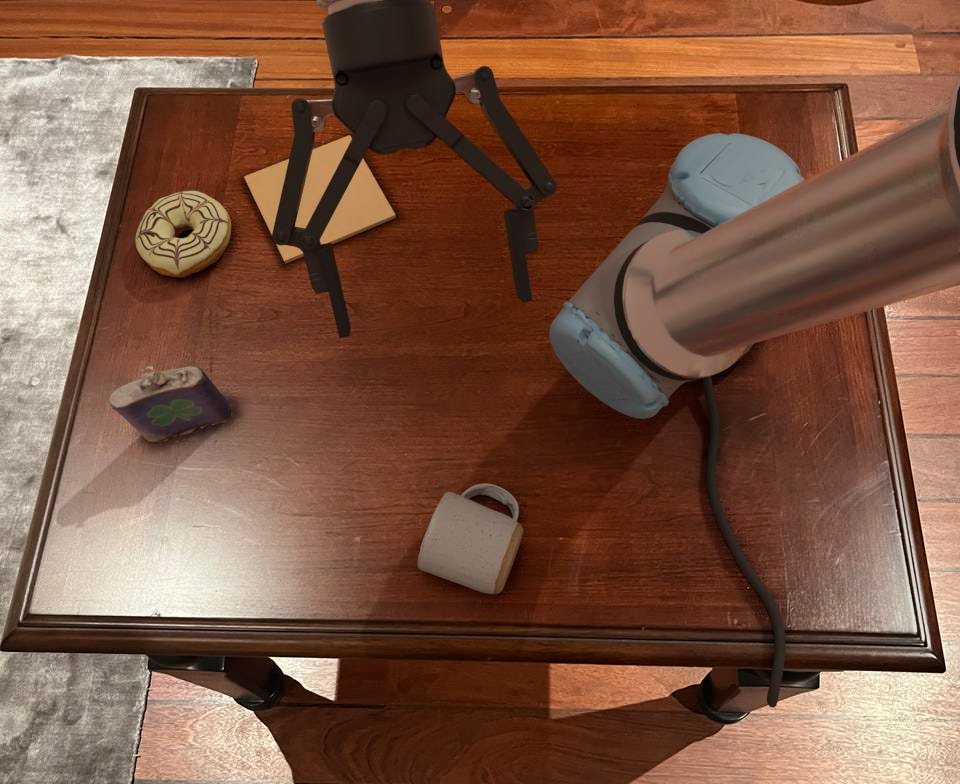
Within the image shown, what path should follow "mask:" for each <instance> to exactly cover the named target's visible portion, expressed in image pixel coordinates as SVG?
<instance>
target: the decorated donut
mask: <svg viewBox="0 0 960 784" xmlns="http://www.w3.org/2000/svg"><path fill="white" fill-rule="evenodd" d="M230 217H231V216H230V215H229V213H228V211H227V210H226V208H224V206H223V205H222V204H221V203H220V202H219V201H217V200H216V199H215V198H212V197H211V196H209V195H208V194H206V193H204V192H202V191H198V190H187V191H185V190H182V191H179V192H175V193H172V194H169V195H167V196H166V195H165V196H164V197H160V198H158V199H157V200H156V201H155V202H154V203H153V204H152V206H151V207H149V208H148V209H147V210H146V211H145V212H144V215H143V217H142V219H141V221H140V222H139V225H138V226H137V230H136V233H135V247H136V250H137V252H138V254H139V255H140V257H141V258H142V259H143V261H144V262H145V263H146V264H147V265H148V266H149V267H150V268H151V269H152V271H155V272H157V273H158V274H160V275H161V276H167V277H172V278H186V277H188V276H191V275H193V274H198V273H199V272H201V271H202V270H204V269H206V268H207V267H209V266H211V265H212V264H214V263H216V262H217V261H218V260H219V259H220V258H221V256H223V255H224V253H225V251H226V250H227V247H228V245H229V244H230V240H231V236H232V234H231V233H232V222H231V218H230ZM185 231H192V232H191V233H190V234H189V235H188V236H186V237H181V238H180V237H179V236H180V235H181V234H182V233H185Z"/></svg>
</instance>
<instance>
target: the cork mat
mask: <svg viewBox="0 0 960 784" xmlns="http://www.w3.org/2000/svg"><path fill="white" fill-rule="evenodd" d="M352 138H353V137H352V136H351V134H349V135H346V136H344V137H341V138H338V139H337V140H333V141H331V142H329V143H326V144H323V145H320V146H317V147H315V148H313V150H312V155H311V159H310V163H309V168H308V172H307V176H306V181H305V185H304V189H303V193H302V198H301V202H300V206H299V211H298V215H297V219H296V223H295V227H300V228H306V226H307V224H308V223H309V221H310V219H311V217H312V215H313V213H314V211H315V209H316V207H317V205H318V203H319V202H320V200H321V198H322V196H323V194H324V192H325V190H326V188H327V186H328V184H329V182H330V181H331V179H332V177H333V175H334V173H335V171H336V169H337V167H338V165H339V163H340V161H341V160H342V158H343V156H344V154H345V152H346V150H347V148H348V146H349V144H350V142H351V140H352ZM288 162H289V158H288V159H285V160H282V161H280V162H277V163H275V164H272V165H269V166H267V167H265V168H262V169H259V170H256V171H254V172H251V173H250V174H247V175H244V176H243V179H244V181H245V182H246V185H247V187H248V188H249V189H248V190H249V191H250V193H251V195H252V198H253V199H254V201H255V203H256V205H257V207H258V210H259V212H260V213H261V216H262V218H263V220H264V222H265V224H266V226H267V228H268V231H269V233H270V235H271V236H272V233H273V228H274V224H275V220H276V215H277V211H278V206H279V202H280V197H281V193H282V189H283V184H284V180H285V175H286V171H287V166H288ZM396 218H397V216H396V213H395V211H394V209H393V208H392V205H390V203H389V201H388V200H387V197H386V195H385V194H384V192H383V191H382V188H381V187H380V185H379V183H378V182H377V180H376V178H375V176H374V174H373V173H372V171H371V169H370V168H369V166H368V164H367V162H366V161H365V159H364V158H363V159H362V161H361V163H360V165H359V167H358V168H357V170H356V172H355V174H354V176H353V178H352V180H351V182H350V184H349V185H348V187H347V189H346V191H345V193H344V195H343V197H342V199H341V201H340V202H339V204H338V206H337V208H336V210H335V212H334V214H333V216H332V217H331V219H330V221H329V223H328V225H327V227H326V229H325V231H324V233H323V234H322V236H321V238H320V242H321V244H325V243H332V245H334V244H337V243H339V242H342V241H344V240H346V239H349V238H351V237H354V236H356V235H358V234H361V233H363V232H365V231H368V230H371V229H373V228H375V227H378V226H380V225H382V224H385V223H387V222H389V221H392V220H394V219H396ZM275 245H276V248H277V250H278V252H279V254H280V256H281V259H282V260H283V262H284V264H286V265H287V264H289V263H291V262H294V261H296V260H299V259H301V258H304V254H303V252H302V251H301V250H300V249H299V248H297V247H293V246H287V245H277V244H276V243H275Z"/></svg>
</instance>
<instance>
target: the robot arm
mask: <svg viewBox="0 0 960 784" xmlns="http://www.w3.org/2000/svg"><path fill="white" fill-rule="evenodd" d="M316 4H317V6H319V8H321V9H323V10H327V11H328V15H326V16H325V17H324V18H323V21H322V23H321V26H322V27H321V28H322V31H323V32H322V33H323V37H324V40H325V46H326V50H327V56H328V60H329V64H330V69H331V74H332V79H333V84H334V90H333V91H334V92H333V96H332V98H327V99H306V98H302V97H297V98H295V99H294V100H293V101H292V103H291V106H290V107H291V116H292V125H293V132H294V136H293V140H292V144H291V149H290V154H289V158H288V159H289V162H288V166H287V171H286V175H285V180H284V184H283V189H282V193H281V197H280V202H279V206H278V211H277V215H276V220H275V224H274V228H273V233H272V235H271V239H272V241H273V242H274V244H275V245H276V244H277V245H287V246H293V247H297V248H299V249H300V250H301V251H302V252H303V254H304V256H303V258H304V261H305V265H306V269H307V273H308V278H309V281H310V286H311V289H312V290H313V292H314V293H315V295H318V294H324V293H328V296H329V299H330V305H331V308H332V312H333V316H334V321H335V324H336V329H337V334H338V338H339V339H344V338H348V337H351V329H352V326H351V322H350V318H349V312H348V308H347V304H346V300H345V295H344V291H343V287H342V282H341V278H340V274H339V270H338V265H337V260H336V256H335V251H334V248H333V244H332V243H325V244H321V242H320V238H321V236H322V234H323V233H324V231H325V229H326V227H327V225H328V223H329V221H330V219H331V217H332V216H333V214H334V212H335V210H336V208H337V206H338V204H339V202H340V201H341V199H342V197H343V195H344V193H345V191H346V189H347V187H348V185H349V184H350V182H351V180H352V178H353V176H354V174H355V172H356V170H357V168H358V167H359V165H360V163H361V161H362V159H364V157H365V155H366V153H367V151H368V150H369V151H370V152H372V153H374V154H378V155H382V156H386V155H391V154H394V153H396V152H399V151H400V150H403V149H409V150H419V149H425V148H427V147H428V146H430V145H431V144H433V143H434V142H435V141H436V139H438V140H439V141H440V142H442V143H443V144H444V145H445V146H446V147H448V149H450V150H451V151H452V152H453V153H455V155H457V156H458V157H459V158H460V159H461V160H463V162H465V164H466V165H468V166H469V167H470V168H471V169H473V170H474V171H475V172H476V173H478V175H480V176H481V177H482V178H483V179H484V180H485V181H487V183H489V184H490V186H492V187H493V188H495V190H497V191H498V192H499V193H500V194H502V196H504V197H505V198H506V199H507V200H508V201H510V203H512V205H513V208H510V209H503V216H504V223H505V224H504V225H505V231H506V237H507V244H508V250H509V257H510V263H511V269H512V276H513V282H514V289H515V296H516V297H517V298H518V299H519V301H520V302H521V303H522V304H524V303H530V302H533V295H532V289H531V281H530V275H529V274H530V273H529V268H528V262H527V255H529V254H534V253H537V252H538V249H539V237H538V230H537V223H536V217H535V216H536V215H535V208H536V206H537V204H538V203H539V202H541V201H542V200H544V199H546V198H547V197H551V196H553V195H554V194H555V193H556V192H557V189H558V185H557V182H556V180H555V179H554V178H553V176H552V175H551V173H550V172H549V170H548V169H547V167H546V166H545V164H544V162H543V161H542V159H541V158H540V157H539V155H538V153H537V152H536V151H535V149H534V147H533V146H532V144H531V143H530V142H529V140H528V138H527V137H526V136H525V134H524V132H523V131H522V129H520V126H519V125H518V124H517V122H516V121H515V119H514V118H513V115H512V114H511V113H510V111H509V110H508V109H507V107H506V105H505V104H504V103H503V100H502V99H501V98H500V94H499V89H498V87H497V82H496V79H495V76H494V71H493V70H492V68H490V66H487V65H482V66H480V67H478V68H476V69H475V70H473V71H472V72H471V71H470V72H468V73H464V74H461V75H457V76H455V77H452V76H451V75H450V73H449V72H448V70H447V67H446V66H445V61H444V55H443V50H442V49H443V48H442V43H441V37H440V32H439V26H438V19H437V14H436V8H435V4H434V3H432V2H431V0H316ZM457 94H462V95H463V96H464V97H465V99H466V100H467V102H468V103H469V104H471V105H479V108H480V110H481V112H482V114H483V115H484V117H485V118H486V119H487V121H488V123H489V124H490V125H491V127H492V128H493V130H494V131H495V133H496V134H497V136H498V137H499V139H500V140H501V141H502V143H503V144H504V146H505V148H506V149H507V150H508V152H509V154H510V155H511V156H512V158H513V159H514V161H515V162H516V164H517V165H518V167H519V168H520V170H521V171H522V172H523V174H524V175H525V177H526V179H527V180H528V181H529V184H527V185H525V186H522V185H521V184H519V182H517V181H516V180H515V179H514V178H513V177H512V176H510V174H508V173H507V172H506V171H505V169H503V168H502V167H500V166H499V165H498V164H497V162H495V161H494V160H493V159H491V158H490V157H489V156H488V155H487V154H486V153H484V152H483V150H481V149H480V148H479V147H478V146H477V145H476V144H474V143H473V142H472V141H471V140H470V139H469V138H468V137H467V136H466V135H464V134H463V132H462V131H460V130H459V129H458V128H457V127H456V126H455V125H453V123H451V122H450V120H448V119H447V115H448V113H449V111H450V109H451V106H452V104H453V103H454V100H455V97H456V95H457ZM331 116H335V118H336V119H337V120H338V121H339V122H340V124H342V125H343V126H344V127H345V128H347V130H348V131H349V132H351V134H353V136H352V137H351V138H352V140H351V142H350V144H349V146H348V148H347V150H346V152H345V154H344V156H343V158H342V160H341V161H340V163H339V165H338V167H337V169H336V171H335V173H334V175H333V177H332V179H331V181H330V182H329V184H328V186H327V188H326V190H325V192H324V194H323V196H322V198H321V200H320V202H319V203H318V205H317V207H316V209H315V211H314V213H313V215H312V217H311V219H310V221H309V223H308V224H307V226H306V228H300V227H295V223H296V219H297V215H298V211H299V206H300V202H301V198H302V193H303V189H304V185H305V181H306V176H307V172H308V168H309V163H310V159H311V155H312V150H313V149H314V145H315V140H316V139H315V138H316V133H320V132H322V131H323V130H324V129H325V127H326V124H327V123H326V122H327V119H328V118H329V117H331ZM277 245H276V246H277ZM957 286H960V74H958V77H957V79H956V81H955V83H954V86H953V90H952V93H951V95H950V100H949V103H948V104H946V105H944V106H942V107H939V108H937V109H936V110H934V111H932V112H931V113H929V114H927V115H925V116H923V117H921V118H919V119H917V120H915V121H913V122H911V123H910V124H908V125H906V126H904V127H902V128H900V129H897V131H895V132H893V133H891V134H889V135H887V136H885V137H883V138H881V139H879V140H876V142H874V143H871V144H870V145H868V146H866V147H865V148H862V149H860V150H858V151H856V152H855V153H853V154H851V155H849V156H848V157H845V158H843V159H842V160H840V161H838V162H836V163H834V164H832V165H830V166H828V167H826V168H824V169H823V170H820V171H819V172H817V173H815V174H813V175H811V176H810V177H807V178H804V177H803V176H802V172H801V169H800V168H799V166H798V164H797V163H796V162H795V161H794V160H793V159H792V158H791V156H789V155H788V154H787V153H785V151H783V150H782V149H781V148H779V147H777V146H776V145H774V144H772V143H770V142H768V141H766V140H764V139H762V138H758V137H756V136H752V135H749V134H744V133H737V132H736V133H735V132H733V133H730V134H725V133H721V132H719V133H718V132H717V133H711V134H708V135H703V136H700V137H698V138H696V139H694V140H692V141H691V142H689V143H688V144H686V145H685V146H684V147H683V148H681V150H680V151H679V152H678V154H677V155H676V157H675V159H674V162H673V163H672V164H671V166H670V169H668V174H667V184H666V187H665V188H664V190H663V192H662V193H661V195H660V196H659V198H658V199H657V200H656V201H655V202H654V204H653V205H652V206H651V207H650V208H649V209H648V211H647V212H645V214H644V215H643V217H642V218H641V219H640V220H639V221H638V223H636V225H635V226H634V227H633V228H632V229H631V230H630V231H629V232H628V233H627V234H626V235H625V236H624V238H622V240H621V241H620V242H619V243H618V244H617V246H616V247H615V248H614V249H612V251H611V252H610V254H608V255H607V257H606V258H605V259H604V260H603V261H602V262H601V263H600V265H599V266H598V267H596V269H595V270H594V272H593V273H592V274H591V275H590V276H588V278H587V279H586V280H585V282H584V283H583V284H582V285H581V286H580V287H579V288H578V290H577V291H575V293H574V294H573V295H572V296H571V297H570V298H569V300H567V301H564V302H563V303H562V308H561V309H560V311H559V312H558V313H557V315H556V316H555V318H554V319H553V320H552V321H551V324H550V327H549V331H548V332H549V333H548V335H549V341H550V344H551V347H552V349H553V351H554V353H555V355H556V357H557V359H558V361H560V363H561V364H562V365H563V367H564V368H565V369H566V371H567V372H568V373H569V374H570V375H571V376H572V378H574V379H575V380H576V381H577V382H578V383H579V384H580V385H581V386H582V387H583V388H584V389H585V390H586V391H588V392H589V393H590V394H591V395H593V396H594V397H595V398H596V399H598V400H599V401H601V402H602V403H603V404H605V405H607V406H608V407H609V408H611V409H613V410H615V411H616V412H619V413H621V414H623V415H625V416H628V417H631V418H634V419H639V420H640V419H642V420H644V419H650V418H652V417H654V416H656V415H657V414H658V413H659V411H660V410H662V408H663V407H667V406H668V405H669V403H670V401H669V398H670V397H671V396H672V394H673V393H674V392H675V391H677V390H678V389H679V388H680V386H682V385H683V384H685V383H689V382H693V381H697V380H702V385H703V391H704V397H705V403H706V407H707V414H708V420H709V443H708V452H707V459H706V467H705V468H706V470H705V471H706V472H705V474H706V475H705V477H706V487H707V494H708V498H709V501H710V505H711V509H712V512H713V514H714V518H715V520H716V522H717V524H718V527H719V529H720V532H721V533H722V536H723V538H724V540H725V542H726V544H727V546H728V548H729V550H730V552H731V554H732V556H733V558H734V560H735V563H736V564H737V565H738V567H739V569H740V571H741V572H742V573H743V575H744V576H745V578H746V579H747V580H748V582H749V583H750V585H751V586H752V587H753V590H755V592H756V593H757V594H758V596H759V597H760V599H761V600H762V602H763V604H764V606H765V608H766V610H767V612H768V615H769V617H770V621H771V624H772V628H773V635H774V655H773V664H772V669H771V672H770V673H771V674H770V680H769V684H768V689H767V695H766V704H767V705H768V707H769V708H776V707H777V705H778V701H779V697H780V690H781V685H782V680H783V675H784V669H785V662H786V652H787V651H786V650H787V649H786V646H787V645H786V633H785V628H784V623H783V620H782V615H781V612H780V610H779V608H778V606H777V603H776V601H775V600H774V598H773V596H772V594H771V593H770V592H769V590H768V589H767V587H766V586H765V584H764V583H763V582H762V580H761V579H760V577H759V576H758V575H757V574H756V572H755V571H754V569H753V568H752V567H751V564H750V563H749V562H748V560H747V558H746V556H745V555H744V553H743V551H742V549H741V547H740V545H739V543H738V541H737V538H736V536H735V535H734V532H733V530H732V528H731V526H730V524H729V522H728V520H727V517H726V514H725V513H724V512H725V511H724V510H723V506H722V503H721V499H720V495H719V492H718V491H719V490H718V486H717V461H718V456H719V455H718V454H719V448H720V447H719V446H720V419H719V413H718V407H717V402H716V397H715V393H714V392H715V391H714V386H713V381H712V377H713V376H715V375H718V374H720V373H721V372H724V371H725V370H727V369H729V368H731V367H733V366H734V365H736V364H737V363H739V362H740V361H741V360H743V358H745V356H746V355H747V354H748V353H749V352H750V350H751V349H752V347H753V346H754V344H756V343H761V342H764V341H767V340H771V339H774V338H777V337H781V336H785V335H788V334H792V333H796V332H798V331H803V330H805V329H809V328H813V327H817V326H820V325H824V324H828V323H830V322H831V323H832V322H835V321H837V320H842V319H844V318H849V317H852V316H855V315H859V314H862V313H866V312H869V311H873V310H877V309H880V308H884V307H887V306H890V305H894V304H898V303H901V302H905V301H908V300H912V299H916V298H920V297H922V296H926V295H929V294H930V295H931V294H934V293H937V292H939V291H944V290H947V289H950V288H954V287H957Z"/></svg>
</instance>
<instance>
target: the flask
mask: <svg viewBox="0 0 960 784" xmlns="http://www.w3.org/2000/svg"><path fill="white" fill-rule="evenodd" d="M154 368H155V367H153V366H151V365H146V366H145V368H144V369H141V370H140V373H143V372H144V370H145V371H146V372H144V373H143V374H142V377H140V378H137V379H135V380H133V381H131V382H129V383H126V384H123V385H122V386H120V387H117V388H116V389H114V390H113V391H112V392H111V394H110V395H109V399H108V403H109V405H110V407H111V409H112V410H114V411H115V412H116V413H118V414H119V415H120V416H121V417H122V418H123V419H125V420H126V421H127V422H128V423H129V424H130V426H132V427H133V428H134V429H135V430H136V431H137V432H138V433H139V434H140V435H141V436H142V437H143V438H144V439H145V440H146V441H148V442H149V443H163V442H166V441H167V442H168V441H169V439H171V438H175V437H179V436H184V435H185V436H186V435H188V434H191V433H193V432H194V431H195V430H196V429H199V428H200V429H204V428H205V427H207V426H214V425H219V424H222V423H226V422H227V421H228V420H229V419H230V418H231V416H233V415H234V414H233V409H232V406H231V404H230V403H229V401H228V400H227V398H226V397H225V396H224V395H223V394H222V393H221V391H220V390H219V389H218V388H217V387H216V385H215V384H214V383H213V381H212V380H211V379H210V378H209V376H208V375H207V373H206V372H204V370H203V369H202V368H201V367H198V366H195V365H190V366H185V367H184V366H183V367H176V368H170V369H165V370H161V371H159V370H158V371H156V372H154Z"/></svg>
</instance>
